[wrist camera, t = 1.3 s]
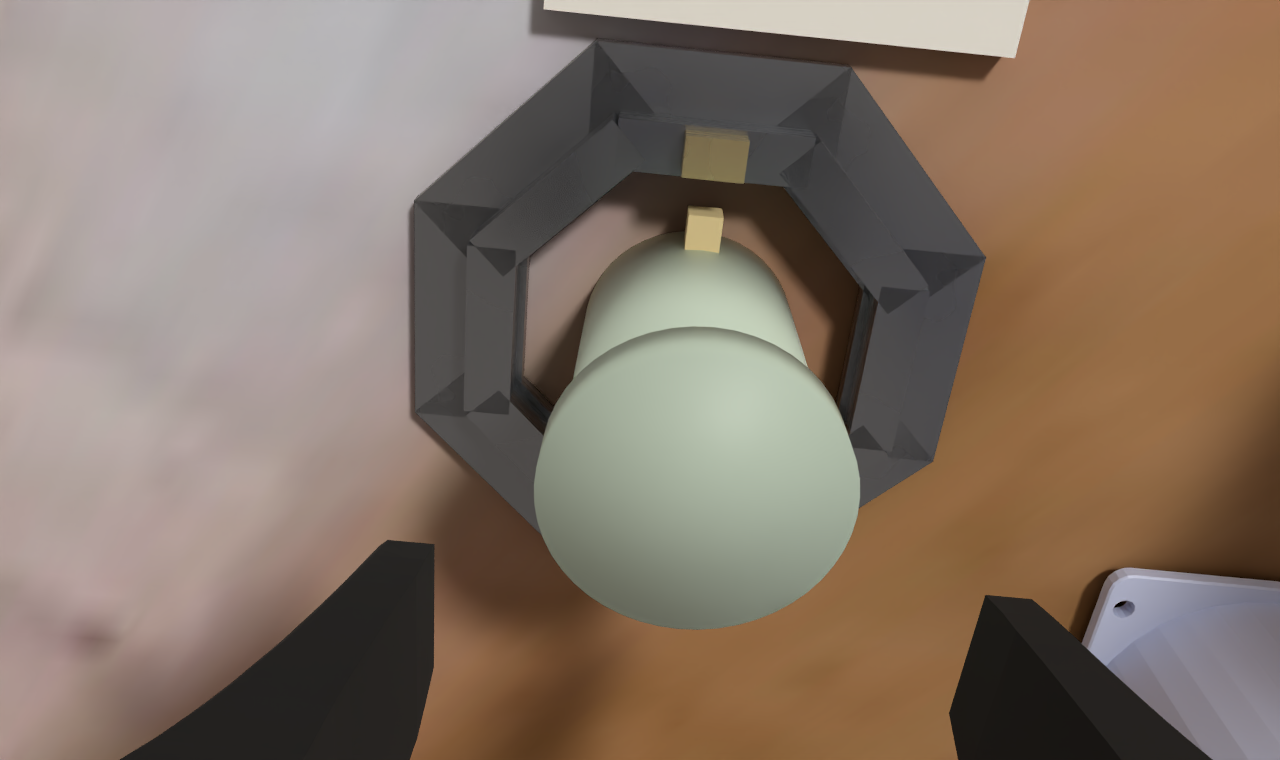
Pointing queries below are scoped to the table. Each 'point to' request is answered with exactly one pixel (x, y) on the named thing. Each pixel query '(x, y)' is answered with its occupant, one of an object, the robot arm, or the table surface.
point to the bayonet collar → (698, 149)
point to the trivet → (840, 19)
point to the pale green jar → (694, 441)
